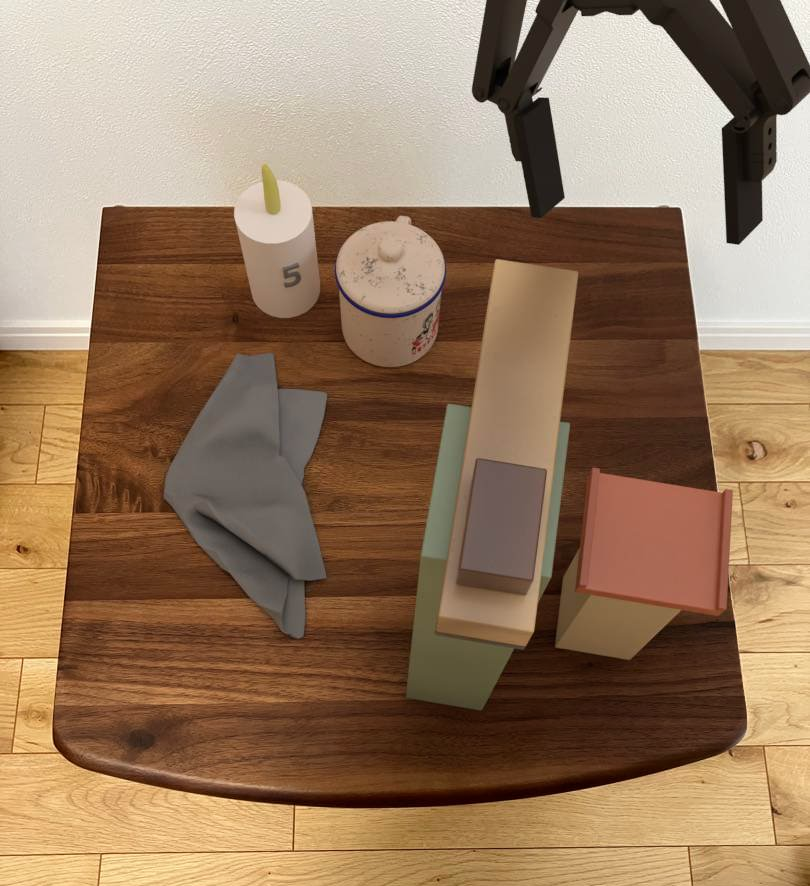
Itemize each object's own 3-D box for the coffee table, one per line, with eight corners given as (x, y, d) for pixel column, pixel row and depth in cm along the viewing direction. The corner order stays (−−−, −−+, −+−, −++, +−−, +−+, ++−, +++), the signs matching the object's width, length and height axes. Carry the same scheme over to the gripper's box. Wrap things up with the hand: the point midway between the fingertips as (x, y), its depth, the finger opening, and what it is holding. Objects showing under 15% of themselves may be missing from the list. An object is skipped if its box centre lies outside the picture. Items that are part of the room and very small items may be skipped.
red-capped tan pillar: (655, 580, 78) (733, 489, 61) (647, 675, 75) (726, 609, 58) (546, 562, 79) (592, 467, 61) (534, 656, 76) (579, 584, 58)
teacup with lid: (431, 379, 84) (438, 302, 73) (330, 362, 85) (322, 283, 74) (452, 267, 88) (462, 178, 78) (355, 252, 89) (351, 161, 78)
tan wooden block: (567, 307, 48) (587, 243, 44) (524, 650, 42) (541, 619, 37) (489, 295, 48) (500, 230, 44) (434, 635, 42) (440, 602, 38)
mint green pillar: (495, 613, 77) (570, 422, 46) (481, 711, 74) (551, 578, 43) (422, 600, 77) (447, 402, 46) (405, 697, 74) (420, 556, 44)
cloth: (178, 352, 85) (173, 338, 83) (334, 354, 85) (332, 340, 83) (150, 638, 76) (144, 631, 74) (325, 640, 76) (323, 632, 74)
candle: (265, 329, 86) (241, 218, 72) (241, 272, 88) (214, 153, 74) (331, 307, 87) (320, 193, 73) (306, 251, 89) (291, 129, 75)
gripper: (353, -146, 50) (447, 226, 64) (825, -234, 35) (812, 281, 49) (442, -192, 53) (513, 173, 67) (911, -290, 38) (876, 209, 52)
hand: (639, 219), depth 58 cm, fingers open, 13 cm apart
